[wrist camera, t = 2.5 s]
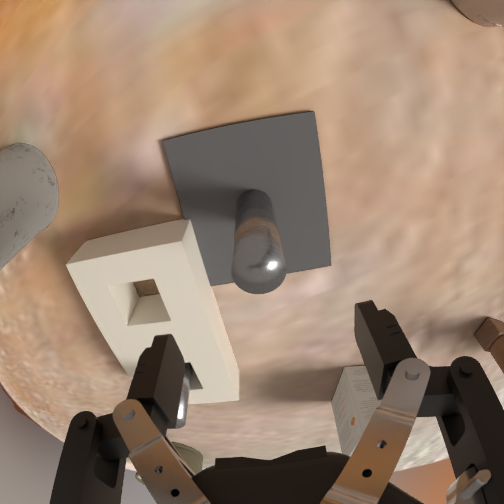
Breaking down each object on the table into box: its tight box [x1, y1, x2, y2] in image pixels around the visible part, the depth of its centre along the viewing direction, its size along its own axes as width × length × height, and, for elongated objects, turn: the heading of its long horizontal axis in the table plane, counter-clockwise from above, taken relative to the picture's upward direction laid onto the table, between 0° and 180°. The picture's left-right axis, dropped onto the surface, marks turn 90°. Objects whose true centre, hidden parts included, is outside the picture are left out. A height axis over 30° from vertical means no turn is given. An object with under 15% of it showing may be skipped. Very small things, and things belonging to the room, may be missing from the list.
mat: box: [163, 111, 331, 286], centre depth 26 cm, size 14×12×1 cm
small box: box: [331, 366, 382, 457], centre depth 34 cm, size 8×6×10 cm
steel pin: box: [231, 190, 286, 294], centre depth 22 cm, size 3×3×10 cm
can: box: [135, 442, 203, 485], centre depth 46 cm, size 12×12×7 cm
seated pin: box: [172, 362, 193, 429], centre depth 30 cm, size 3×3×10 cm
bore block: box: [66, 219, 239, 404], centre depth 30 cm, size 20×11×4 cm, turn 11°
